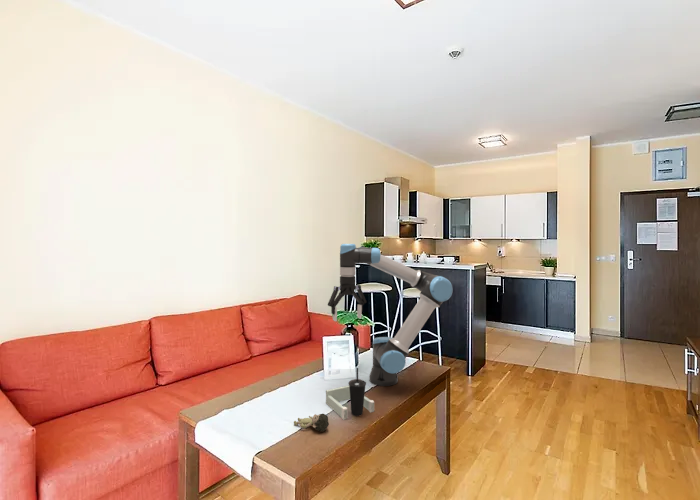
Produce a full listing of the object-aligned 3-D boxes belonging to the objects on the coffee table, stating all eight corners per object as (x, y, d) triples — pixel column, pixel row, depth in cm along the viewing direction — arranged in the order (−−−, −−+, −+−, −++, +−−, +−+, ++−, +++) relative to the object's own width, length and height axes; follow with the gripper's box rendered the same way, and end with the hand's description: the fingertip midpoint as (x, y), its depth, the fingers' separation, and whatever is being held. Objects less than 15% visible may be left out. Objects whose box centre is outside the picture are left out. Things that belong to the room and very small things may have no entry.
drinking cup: (364, 418, 160) (364, 372, 159) (346, 416, 161) (346, 370, 160) (367, 410, 167) (367, 365, 166) (350, 408, 169) (350, 364, 168)
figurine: (300, 409, 159) (330, 410, 152) (302, 425, 159) (333, 426, 152) (289, 418, 152) (320, 418, 145) (292, 434, 152) (323, 435, 145)
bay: (354, 396, 181) (354, 384, 181) (374, 411, 166) (374, 398, 166) (325, 403, 174) (325, 390, 173) (343, 419, 158) (343, 405, 158)
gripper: (365, 273, 191) (365, 315, 192) (320, 276, 179) (320, 320, 180) (373, 275, 184) (373, 318, 185) (327, 277, 172) (327, 323, 173)
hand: (347, 319), depth 183 cm, fingers open, 13 cm apart
